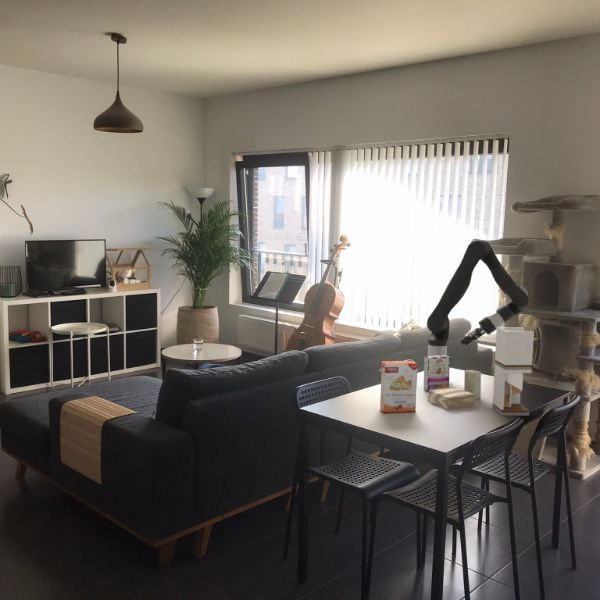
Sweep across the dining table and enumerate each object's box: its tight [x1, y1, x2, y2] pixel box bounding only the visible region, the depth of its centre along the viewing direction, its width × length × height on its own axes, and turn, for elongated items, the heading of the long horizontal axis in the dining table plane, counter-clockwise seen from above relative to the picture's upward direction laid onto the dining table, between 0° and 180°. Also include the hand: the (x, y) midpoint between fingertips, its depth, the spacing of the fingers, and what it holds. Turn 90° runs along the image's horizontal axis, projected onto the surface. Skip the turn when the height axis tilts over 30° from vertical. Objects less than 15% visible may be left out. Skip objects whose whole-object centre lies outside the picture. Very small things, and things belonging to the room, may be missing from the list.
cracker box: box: [379, 360, 419, 413], centre depth 265 cm, size 14×6×21 cm, turn 99°
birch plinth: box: [428, 386, 476, 410], centre depth 278 cm, size 14×14×5 cm
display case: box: [492, 326, 535, 416], centre depth 265 cm, size 11×11×35 cm
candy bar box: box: [423, 355, 451, 393], centre depth 300 cm, size 11×5×16 cm, turn 104°
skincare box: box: [463, 369, 482, 400], centre depth 288 cm, size 6×4×12 cm
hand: (463, 343), depth 296 cm, fingers open, 8 cm apart
